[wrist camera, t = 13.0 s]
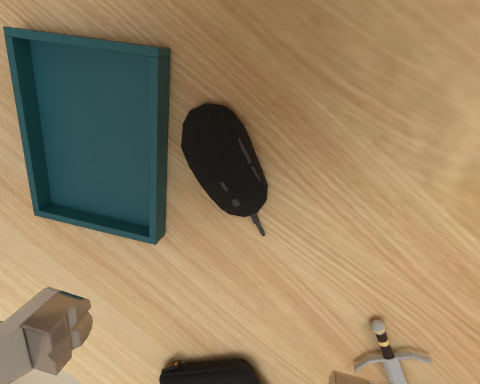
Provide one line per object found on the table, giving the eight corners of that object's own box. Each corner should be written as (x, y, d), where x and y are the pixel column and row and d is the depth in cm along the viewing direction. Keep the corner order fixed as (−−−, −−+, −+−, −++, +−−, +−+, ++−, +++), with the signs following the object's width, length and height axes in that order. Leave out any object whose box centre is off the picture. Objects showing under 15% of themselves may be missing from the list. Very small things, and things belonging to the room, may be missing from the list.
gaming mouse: (238, 242, 35) (229, 262, 31) (174, 119, 31) (156, 126, 28) (291, 225, 33) (287, 245, 29) (229, 91, 29) (216, 95, 25)
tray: (24, 28, 31) (2, 26, 29) (170, 48, 29) (158, 47, 27) (49, 206, 39) (34, 215, 37) (165, 234, 37) (155, 245, 35)
